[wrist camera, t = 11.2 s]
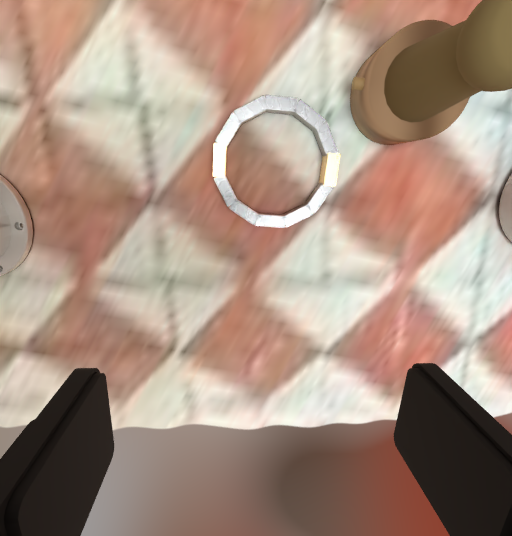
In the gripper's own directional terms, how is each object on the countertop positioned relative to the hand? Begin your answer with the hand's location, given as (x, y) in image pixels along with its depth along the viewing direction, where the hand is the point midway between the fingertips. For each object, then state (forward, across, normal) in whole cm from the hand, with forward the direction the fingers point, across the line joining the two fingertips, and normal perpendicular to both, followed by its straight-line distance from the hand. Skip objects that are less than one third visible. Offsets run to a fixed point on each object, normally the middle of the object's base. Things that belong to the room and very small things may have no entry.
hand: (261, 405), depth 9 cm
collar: (+26, -4, -8) cm, 27 cm away
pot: (+26, -15, -15) cm, 33 cm away
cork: (+21, -15, -15) cm, 30 cm away
